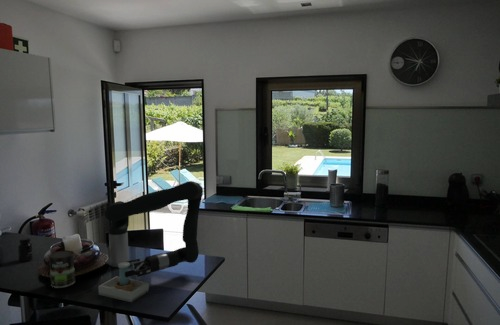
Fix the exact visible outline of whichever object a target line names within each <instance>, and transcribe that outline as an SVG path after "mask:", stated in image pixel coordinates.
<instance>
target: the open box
mask: <svg viewBox="0 0 500 325" xmlns="http://www.w3.org/2000/svg"><path fill="white" fill-rule="evenodd" d="M149 287H150V286H149V282H148V281H144V280H143V281H142V280H137V279H133V278H129V284H128V285H125V286H119V276H118V275H116V276H114V277H113V278H111V279H109V280H107V281H105V282H103V283H101V284H99V285H98V295H99V296H103V297H106V298H112V299H115V300H121V301H125V302H129V303H134V302H135V301H137V300H138V299H140V298H141V297H142V296H144V295H146V292H147V293H148V292H149V291H150V288H149Z"/></svg>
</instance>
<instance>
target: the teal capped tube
mask: <svg viewBox="0 0 500 325" xmlns="http://www.w3.org/2000/svg"><path fill="white" fill-rule="evenodd" d="M129 266H130V263H129V262H122V263H119V264H118V267H119V269H118V272H119V273H118V275H119V286H125V285H128V284H129V279H130V276H129V277H125V272H127V271H130V269H129ZM118 267H117V268H118Z"/></svg>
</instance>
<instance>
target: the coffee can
mask: <svg viewBox="0 0 500 325" xmlns="http://www.w3.org/2000/svg"><path fill="white" fill-rule="evenodd" d="M48 258H49V275H50V287H51V286H52V288H53V287H54V288H53V289H62V288H67V287H70V286H72V285H73V284H75V283H76V272H75V268H74V259H75V252H74V251H73V250H59V251H54V252H52V253H51V254H49V256H48Z"/></svg>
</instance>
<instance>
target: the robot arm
mask: <svg viewBox="0 0 500 325" xmlns="http://www.w3.org/2000/svg"><path fill="white" fill-rule="evenodd" d="M203 192H204V191H203V186H202V185H201V184H200V183H199V182H196V181H193V180H191V181H190V180H189V181H186V182H184V183H181V184H179V185H176V186H173V187H169V188H166V189H161V190H155V191H153V192H149V193H145V194H143V195H140V196H138V197H136V198H133V199H132V200H129V201H128V200H127V201H125V202H124V201H122V200H121V201H116V202H112V203H111V204H109V205H108V206H107V207H106V208H105V210H104V217H105V218H106V220H108V221H110V222H111V223H110V226H109V227H108V241H109V244H108V245H109V246H108V247H107V256H108V257H107V258H108V259H107V260H108V265H110V266H111V267H112V268H118V270H119V267H118V264H119V263H122V262H129V263H130V266H129V271H127V272H125V277H129V278H130V277H133V276H135V277H136V276H137V277H138V278H139V277H142V276H146V275H149V274H152V273H156V272H159V271H163V270H165V269H168V268H169V269H170V268H171V267H172V268H173V267H175V266H178V265H179V264H180V263H189V264H191V263H192V264H193V263H195V262H196V261H197V260H198V257H199V245H198V240H197V239H198V223H199V213H200V207H201V201H202V198H203ZM181 201H187V210H186V214H185V218H184V221H183V226H182V227H183V228H182V241H183V242H184V244H185V246H183V247H181V248H178V249H174V251H173V250H172V251H168V252H162V253H156V254H151V255H148V256H145V258H144V260H141V259H140V258H137V259H132V260H129V237H128V236H129V235H128V233H129V232H128V229H129V224H130V221H129V220H130V217H131V216H136V215H139V214H140V215H142V214H144V213H145V214H146V213H149V212H153V211H158V210H160V209H163V208H165V207H168V206H169V205H171V204H173V203H176V202H181Z"/></svg>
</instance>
